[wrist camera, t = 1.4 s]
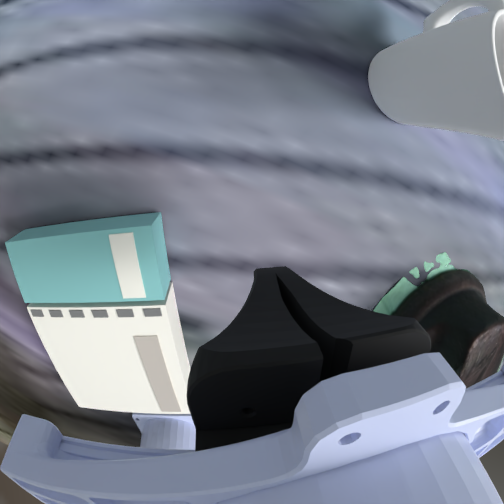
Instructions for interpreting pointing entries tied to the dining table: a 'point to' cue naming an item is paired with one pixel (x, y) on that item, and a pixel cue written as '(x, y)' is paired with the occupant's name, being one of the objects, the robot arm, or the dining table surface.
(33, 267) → the stub
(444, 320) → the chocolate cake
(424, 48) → the mug
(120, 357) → the ticket
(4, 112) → the dining table surface
